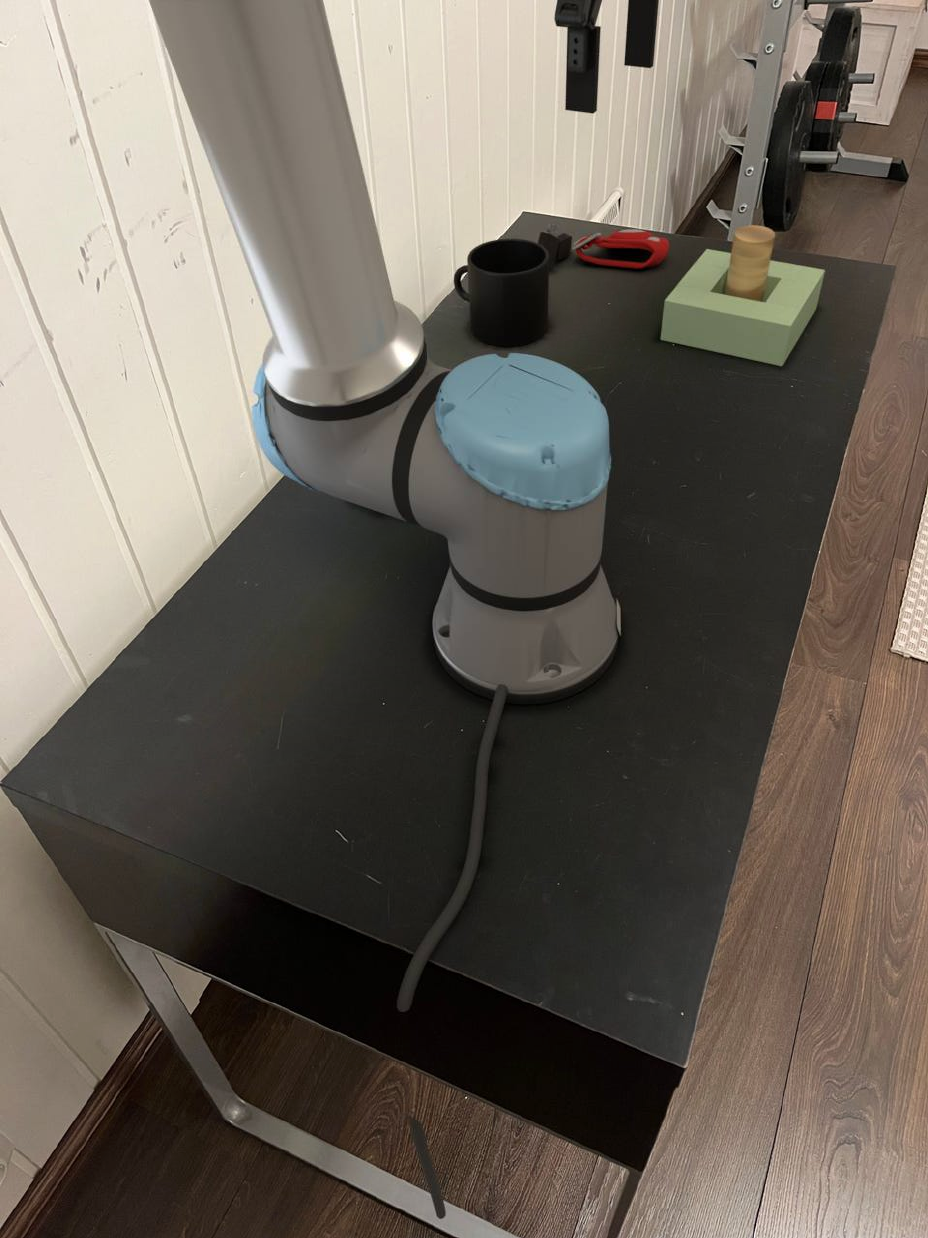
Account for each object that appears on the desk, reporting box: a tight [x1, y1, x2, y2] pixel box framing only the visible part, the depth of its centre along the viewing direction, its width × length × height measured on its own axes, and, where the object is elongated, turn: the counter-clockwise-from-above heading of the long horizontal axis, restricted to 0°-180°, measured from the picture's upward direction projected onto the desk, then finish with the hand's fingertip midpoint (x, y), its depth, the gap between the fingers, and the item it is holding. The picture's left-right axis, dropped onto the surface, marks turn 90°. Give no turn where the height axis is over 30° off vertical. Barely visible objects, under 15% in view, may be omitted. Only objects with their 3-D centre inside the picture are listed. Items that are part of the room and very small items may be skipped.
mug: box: [453, 238, 550, 347], centre depth 112 cm, size 9×12×9 cm
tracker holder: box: [571, 228, 670, 270], centre depth 124 cm, size 12×4×10 cm
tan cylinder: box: [725, 224, 776, 302], centre depth 108 cm, size 4×4×11 cm
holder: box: [660, 248, 826, 367], centre depth 111 cm, size 14×14×5 cm
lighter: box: [537, 223, 573, 271], centre depth 124 cm, size 8×2×5 cm
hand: (611, 87), depth 87 cm, fingers open, 13 cm apart
